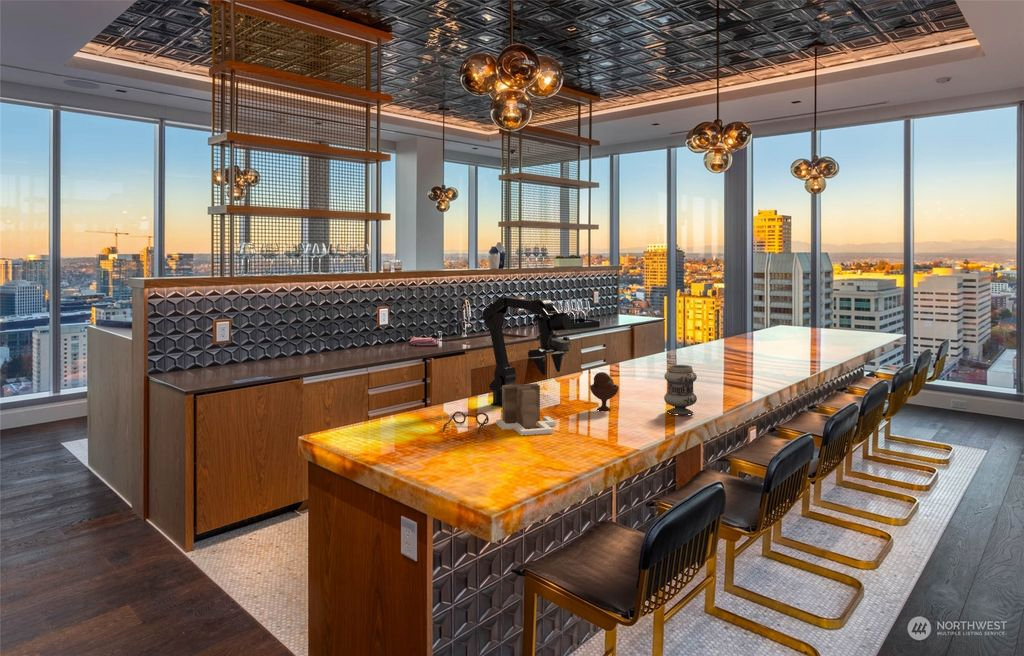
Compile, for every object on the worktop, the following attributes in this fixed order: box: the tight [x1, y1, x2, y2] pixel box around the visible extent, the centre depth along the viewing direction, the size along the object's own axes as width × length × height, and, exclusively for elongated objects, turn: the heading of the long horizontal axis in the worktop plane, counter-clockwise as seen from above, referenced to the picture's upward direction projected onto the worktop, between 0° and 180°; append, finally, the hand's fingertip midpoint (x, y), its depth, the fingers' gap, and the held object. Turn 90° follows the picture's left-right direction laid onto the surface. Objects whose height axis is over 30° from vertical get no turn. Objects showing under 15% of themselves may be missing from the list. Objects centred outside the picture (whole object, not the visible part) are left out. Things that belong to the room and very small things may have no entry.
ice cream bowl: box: [589, 371, 620, 412], centre depth 251 cm, size 11×11×15 cm
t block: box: [501, 383, 541, 429], centre depth 231 cm, size 13×13×13 cm
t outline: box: [495, 415, 557, 437], centre depth 226 cm, size 17×19×2 cm
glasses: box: [442, 410, 490, 435], centre depth 225 cm, size 13×13×5 cm
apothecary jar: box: [663, 364, 698, 415], centre depth 245 cm, size 12×12×18 cm
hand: (551, 373), depth 245 cm, fingers open, 9 cm apart
